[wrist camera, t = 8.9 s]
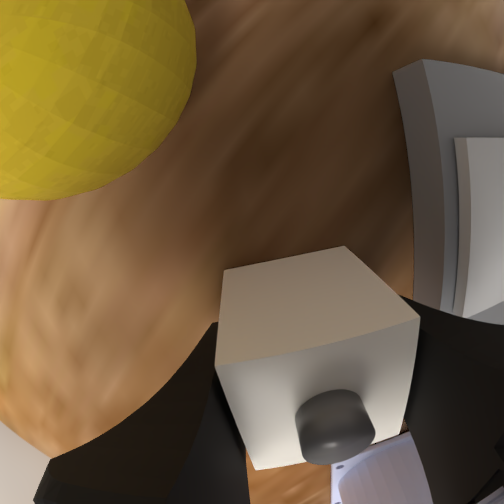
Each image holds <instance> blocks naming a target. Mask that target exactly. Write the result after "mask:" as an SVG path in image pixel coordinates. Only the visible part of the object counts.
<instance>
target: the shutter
mask: <svg viewBox="0 0 504 504" xmlns="http://www.w3.org/2000/svg"><path fill="white" fill-rule="evenodd" d="M454 142H455V150H456V160H457V171H458V186H459V255H458V270H457V282H456V291H455V300H454V307H453V313H454V314H455V315H456V316H460V317H463V318H468V317H470V316H473V315H475V314H477V313H479V312H481V311H484V310H486V309H488V308H490V307H492V306H494V305H496V304H498V303H500V302H502V301H504V138H487V137H464V138H454Z"/></svg>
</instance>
